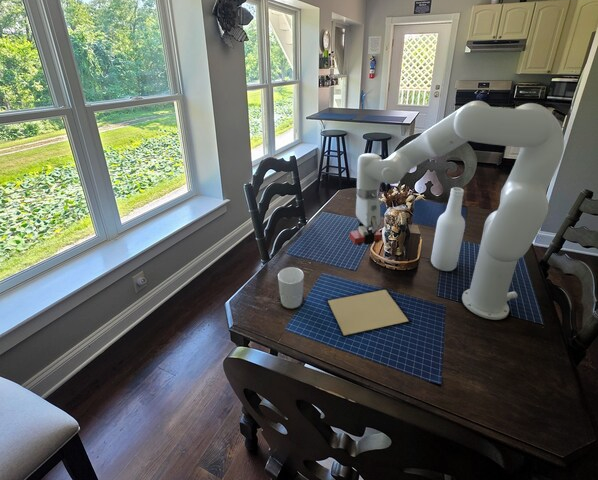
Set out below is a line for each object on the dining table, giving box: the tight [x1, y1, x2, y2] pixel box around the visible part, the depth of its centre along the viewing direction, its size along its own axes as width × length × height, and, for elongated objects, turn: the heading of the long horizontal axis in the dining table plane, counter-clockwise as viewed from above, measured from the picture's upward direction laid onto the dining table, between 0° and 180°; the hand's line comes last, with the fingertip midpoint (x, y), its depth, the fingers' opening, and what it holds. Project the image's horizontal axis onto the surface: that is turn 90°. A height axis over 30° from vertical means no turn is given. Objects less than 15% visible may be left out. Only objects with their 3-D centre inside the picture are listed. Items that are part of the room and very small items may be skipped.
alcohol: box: [430, 186, 466, 272], centre depth 112 cm, size 9×9×30 cm
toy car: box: [348, 225, 383, 246], centre depth 111 cm, size 10×5×5 cm, turn 104°
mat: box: [327, 289, 409, 336], centre depth 97 cm, size 20×14×1 cm
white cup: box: [277, 266, 305, 309], centre depth 99 cm, size 8×8×10 cm
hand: (365, 238), depth 112 cm, fingers closed on toy car, 5 cm apart
